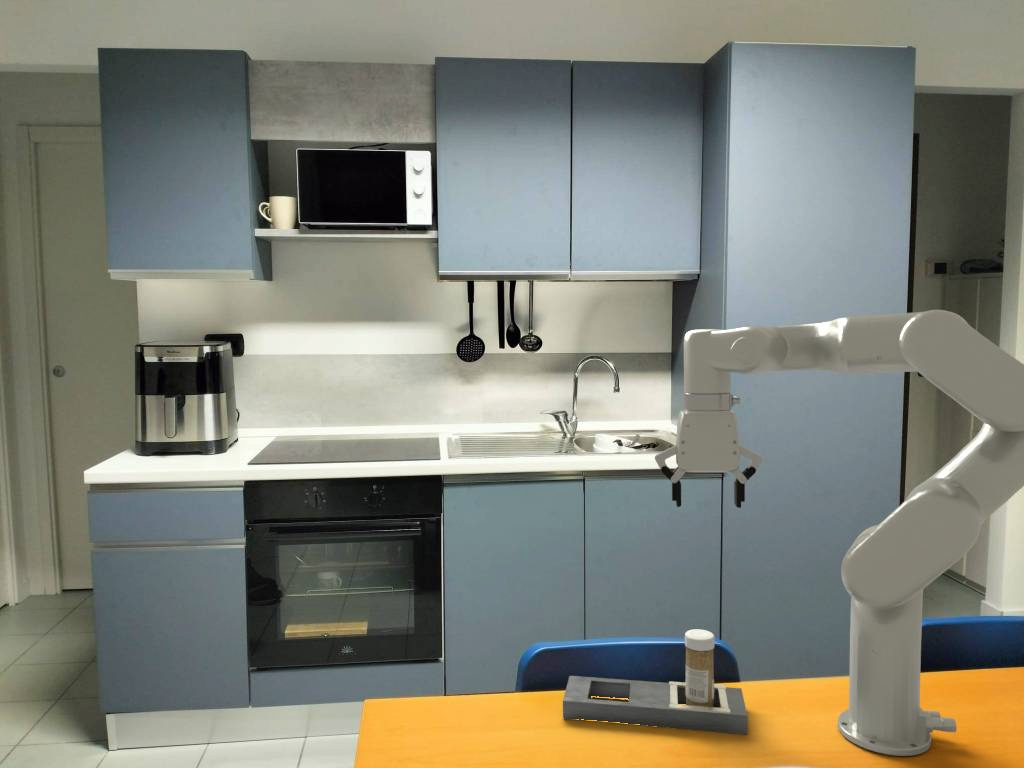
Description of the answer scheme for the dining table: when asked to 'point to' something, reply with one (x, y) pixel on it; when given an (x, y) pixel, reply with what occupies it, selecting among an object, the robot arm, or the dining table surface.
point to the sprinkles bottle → (699, 668)
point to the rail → (654, 705)
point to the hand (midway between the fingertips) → (707, 505)
